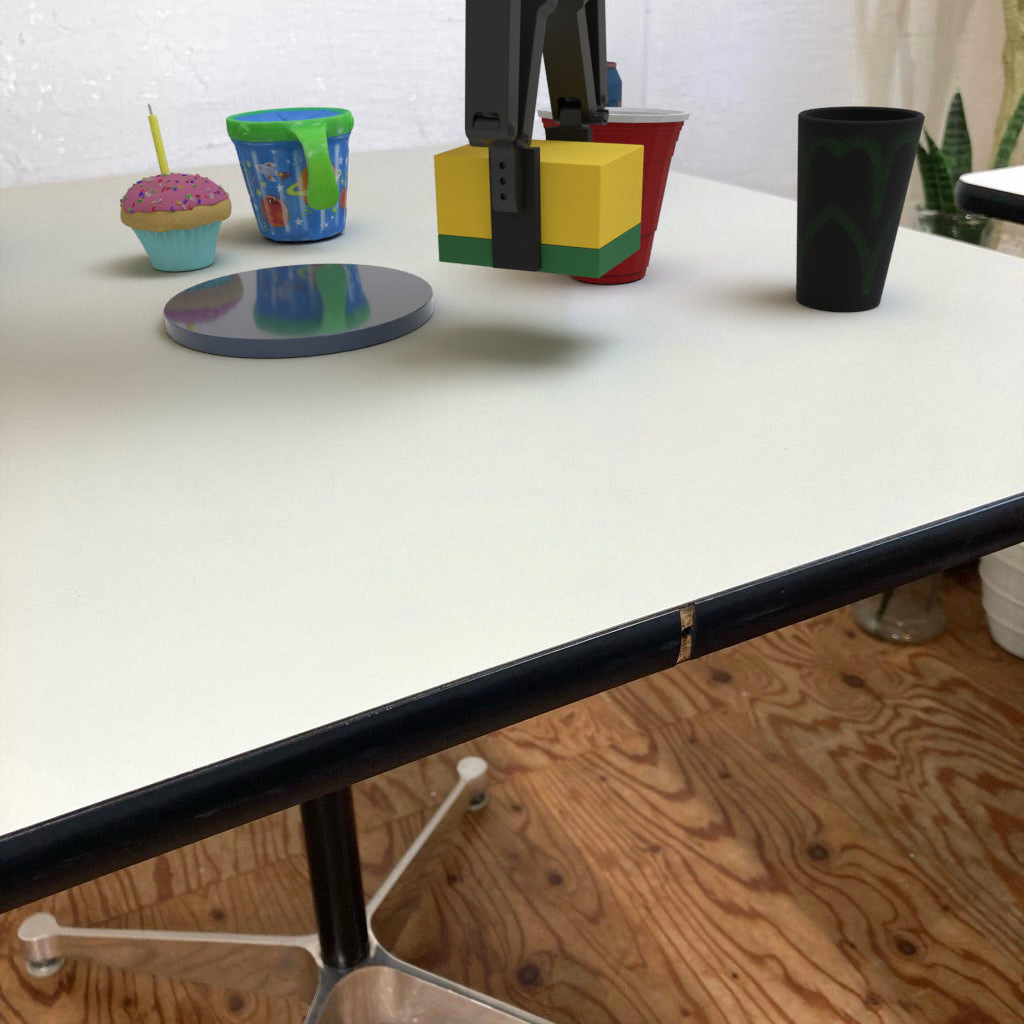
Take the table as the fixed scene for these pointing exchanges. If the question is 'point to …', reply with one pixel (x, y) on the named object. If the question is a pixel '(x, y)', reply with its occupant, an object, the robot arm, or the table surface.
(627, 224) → the sponge
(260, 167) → the snack cup
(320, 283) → the plate
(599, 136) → the plastic cup
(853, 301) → the cup
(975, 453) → the table surface
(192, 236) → the cupcake
